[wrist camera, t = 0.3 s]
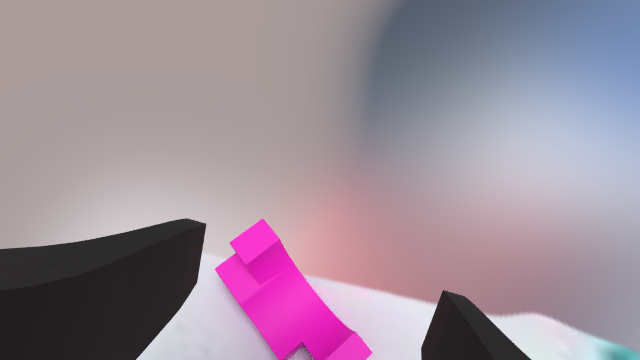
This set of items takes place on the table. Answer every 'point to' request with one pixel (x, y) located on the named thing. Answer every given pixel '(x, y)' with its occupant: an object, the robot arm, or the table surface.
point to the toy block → (284, 300)
